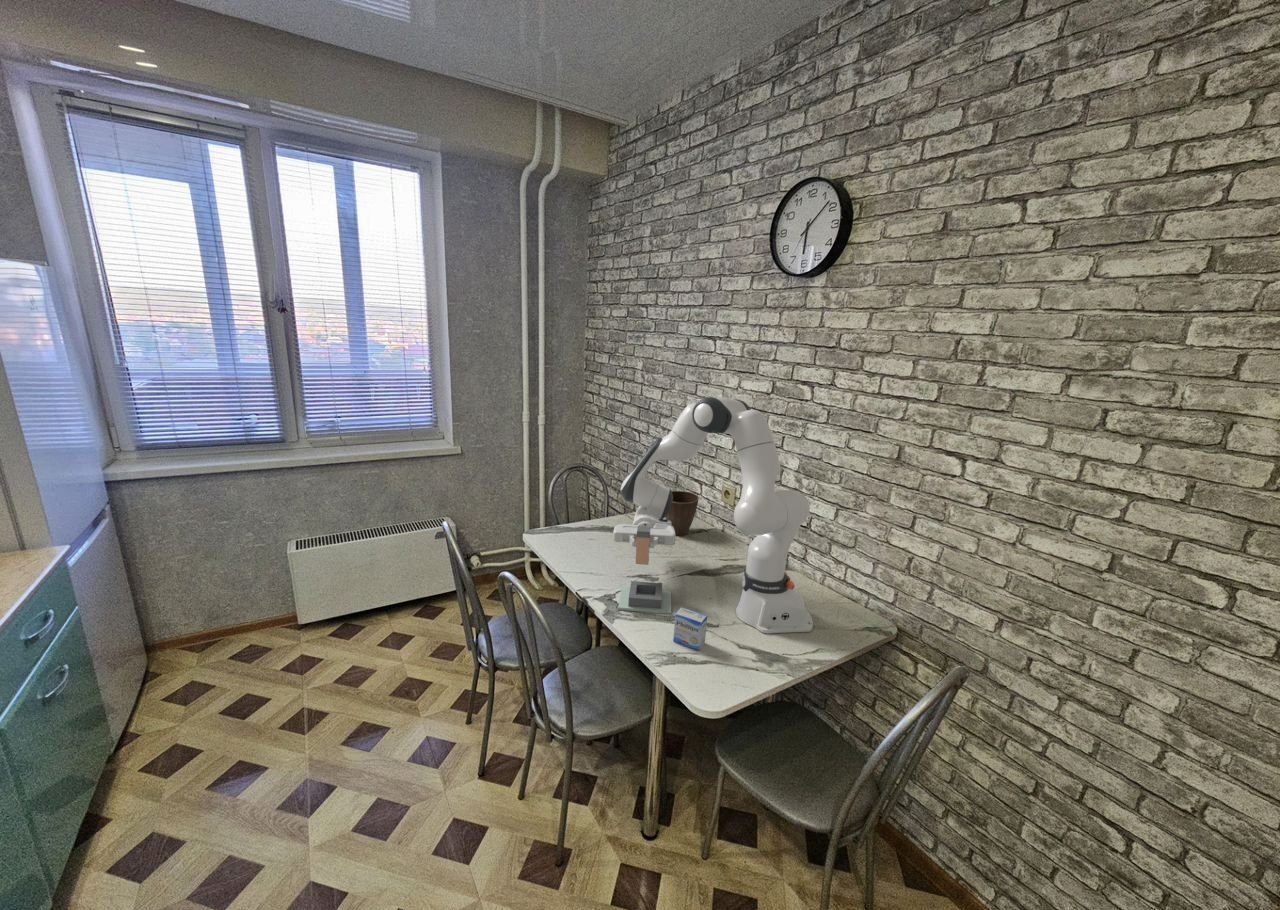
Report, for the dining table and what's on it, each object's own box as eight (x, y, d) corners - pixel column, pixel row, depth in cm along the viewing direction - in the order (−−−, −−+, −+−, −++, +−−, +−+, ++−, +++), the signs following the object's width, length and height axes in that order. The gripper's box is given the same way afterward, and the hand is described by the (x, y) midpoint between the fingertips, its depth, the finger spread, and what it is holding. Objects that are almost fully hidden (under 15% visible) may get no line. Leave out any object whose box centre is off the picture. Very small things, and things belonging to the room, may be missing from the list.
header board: (670, 592, 159) (671, 582, 158) (670, 613, 147) (671, 602, 146) (621, 589, 159) (622, 578, 158) (618, 609, 148) (618, 598, 147)
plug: (648, 559, 156) (650, 526, 153) (648, 564, 152) (650, 532, 149) (636, 558, 156) (637, 526, 153) (635, 563, 152) (637, 531, 150)
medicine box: (672, 641, 134) (674, 614, 132) (679, 633, 138) (681, 606, 136) (699, 651, 131) (702, 623, 128) (705, 642, 135) (707, 614, 132)
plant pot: (656, 536, 201) (658, 499, 197) (665, 523, 215) (667, 488, 211) (692, 542, 197) (695, 505, 193) (698, 528, 211) (701, 493, 207)
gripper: (615, 517, 165) (610, 533, 152) (675, 521, 164) (676, 537, 150) (614, 534, 166) (609, 552, 153) (674, 538, 165) (674, 556, 152)
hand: (643, 545), depth 152 cm, fingers closed on plug, 4 cm apart
